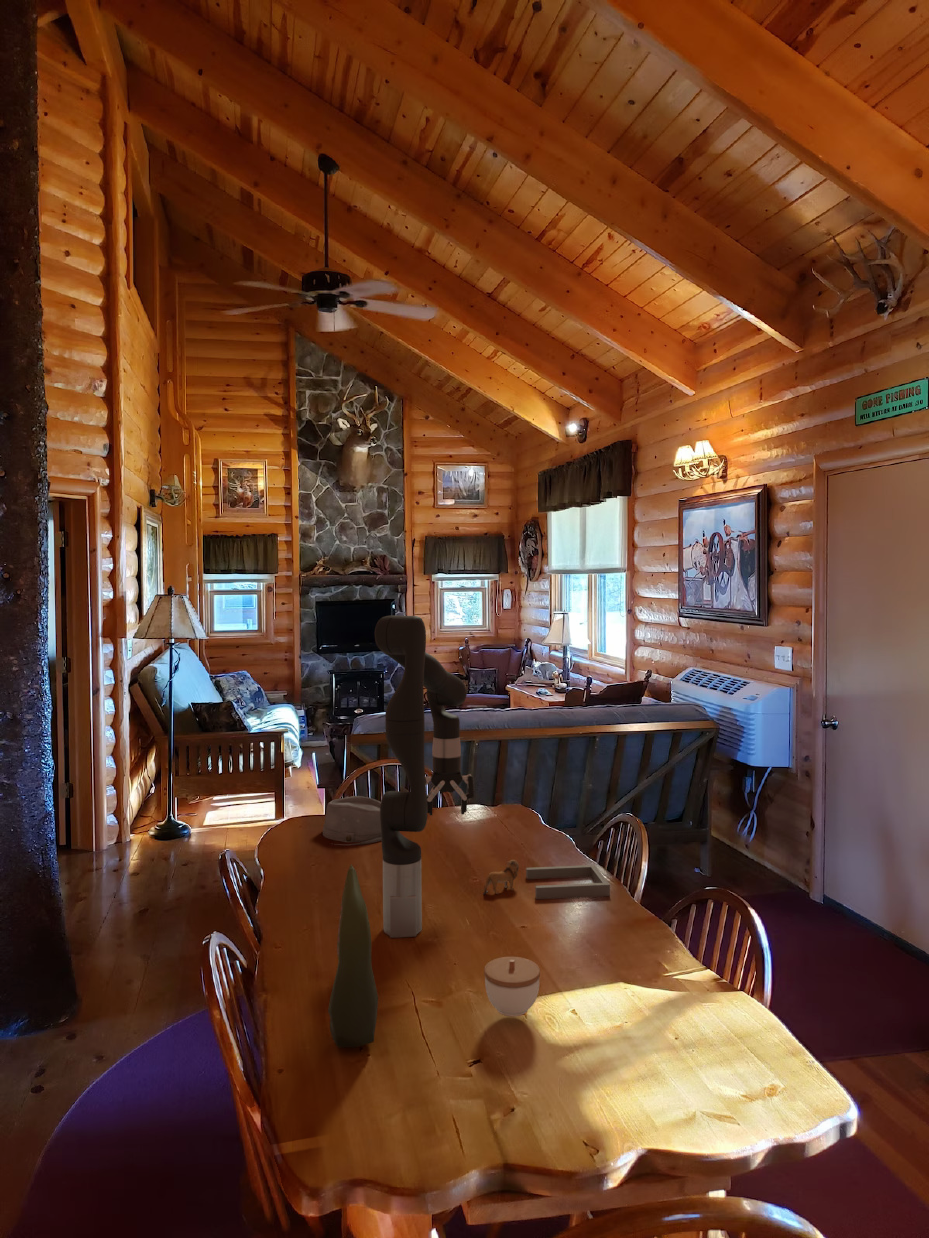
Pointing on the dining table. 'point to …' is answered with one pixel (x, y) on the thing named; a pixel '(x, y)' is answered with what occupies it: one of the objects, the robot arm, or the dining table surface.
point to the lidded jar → (512, 984)
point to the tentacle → (353, 972)
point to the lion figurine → (503, 876)
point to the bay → (569, 890)
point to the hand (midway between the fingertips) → (446, 814)
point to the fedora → (353, 820)
